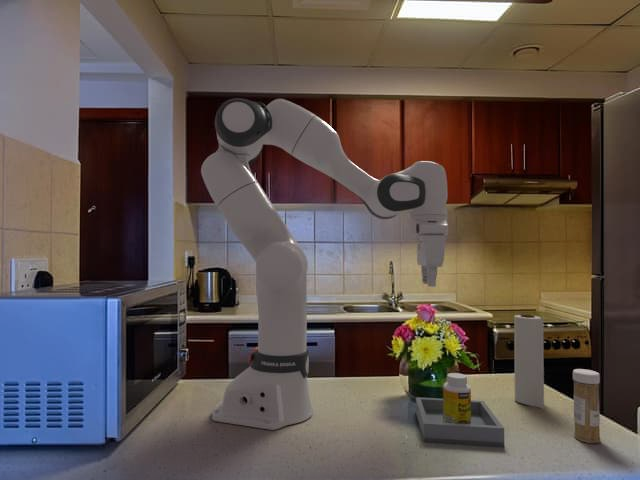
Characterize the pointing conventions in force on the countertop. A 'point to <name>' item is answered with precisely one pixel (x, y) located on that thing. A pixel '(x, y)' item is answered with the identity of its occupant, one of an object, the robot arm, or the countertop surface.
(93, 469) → the countertop surface
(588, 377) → the spice jar
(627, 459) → the countertop surface
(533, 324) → the paper towel roll
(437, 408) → the tray
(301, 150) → the robot arm
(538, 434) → the countertop surface
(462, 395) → the supplement bottle
